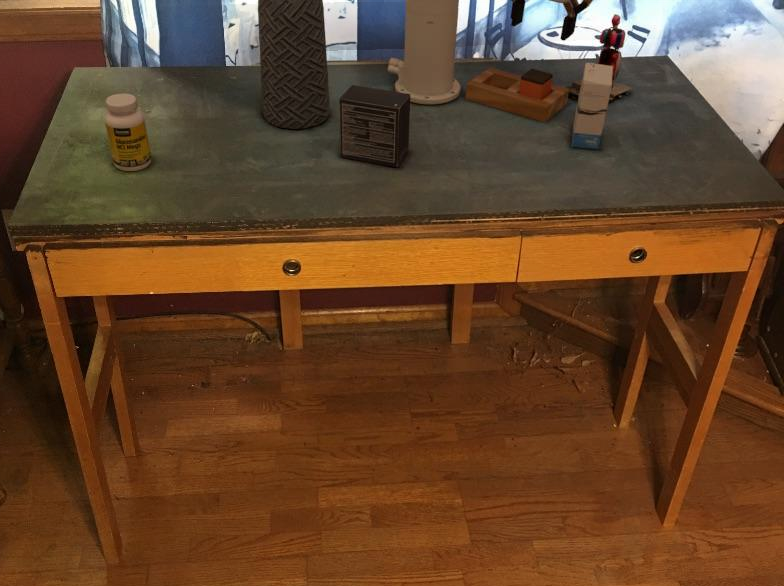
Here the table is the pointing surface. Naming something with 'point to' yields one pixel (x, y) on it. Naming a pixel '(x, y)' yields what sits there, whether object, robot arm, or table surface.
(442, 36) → the robot arm
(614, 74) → the statue
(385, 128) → the small box
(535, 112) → the wooden compartment tray
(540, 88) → the orange block
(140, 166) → the pill bottle
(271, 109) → the vase
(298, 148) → the table surface
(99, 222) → the table surface
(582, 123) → the ink box
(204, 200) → the table surface
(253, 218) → the table surface
